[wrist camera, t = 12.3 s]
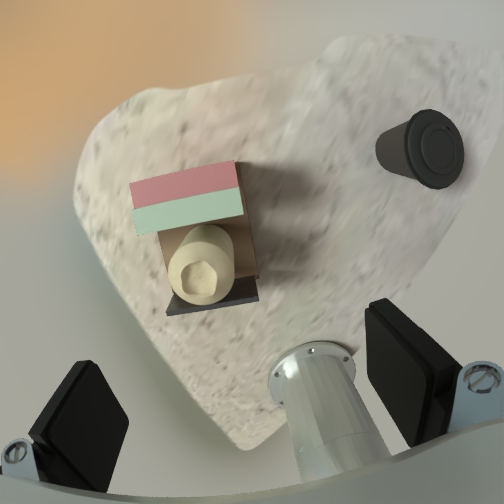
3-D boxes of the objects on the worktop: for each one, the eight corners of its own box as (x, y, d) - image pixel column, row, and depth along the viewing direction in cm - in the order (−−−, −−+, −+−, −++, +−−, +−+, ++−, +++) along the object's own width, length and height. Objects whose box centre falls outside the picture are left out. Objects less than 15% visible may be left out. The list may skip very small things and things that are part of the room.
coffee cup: (415, 120, 32) (464, 110, 22) (422, 182, 34) (472, 188, 24) (360, 119, 31) (404, 104, 22) (369, 186, 34) (414, 193, 24)
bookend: (254, 279, 34) (259, 300, 28) (177, 292, 34) (167, 316, 28) (253, 274, 34) (258, 296, 28) (176, 288, 34) (165, 311, 28)
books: (241, 204, 32) (243, 214, 24) (159, 220, 32) (137, 235, 24) (233, 163, 31) (233, 159, 23) (151, 180, 31) (126, 184, 23)
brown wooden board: (258, 274, 36) (259, 278, 34) (175, 288, 35) (173, 293, 34) (238, 161, 32) (238, 161, 31) (150, 180, 32) (146, 180, 30)
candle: (243, 253, 33) (249, 287, 24) (204, 282, 34) (194, 324, 24) (212, 213, 32) (204, 231, 22) (173, 244, 32) (150, 273, 23)
